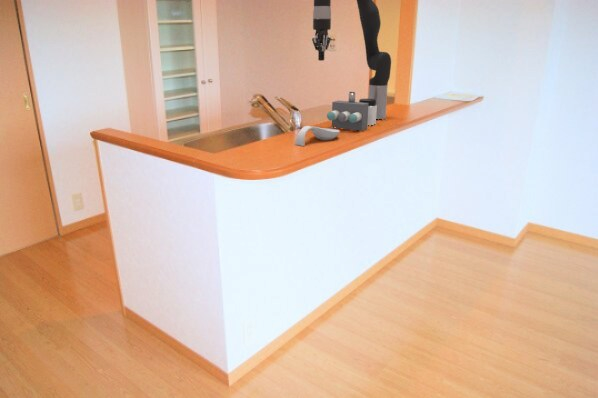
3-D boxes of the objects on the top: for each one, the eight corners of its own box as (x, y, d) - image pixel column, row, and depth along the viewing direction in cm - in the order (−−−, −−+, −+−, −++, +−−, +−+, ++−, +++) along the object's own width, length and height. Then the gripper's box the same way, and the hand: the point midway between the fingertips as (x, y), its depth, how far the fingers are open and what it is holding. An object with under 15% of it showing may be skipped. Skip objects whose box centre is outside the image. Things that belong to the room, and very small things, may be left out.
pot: (350, 101, 224) (350, 91, 223) (356, 101, 223) (356, 91, 221) (347, 102, 222) (347, 92, 220) (353, 102, 220) (353, 92, 219)
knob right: (358, 118, 224) (359, 110, 222) (366, 119, 222) (366, 110, 221) (348, 122, 215) (348, 113, 214) (356, 123, 213) (357, 114, 212)
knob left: (337, 116, 229) (337, 108, 228) (345, 117, 227) (345, 108, 226) (326, 120, 221) (326, 111, 219) (334, 120, 219) (334, 112, 217)
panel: (337, 125, 231) (338, 100, 227) (367, 128, 224) (368, 103, 220) (331, 127, 227) (332, 102, 223) (361, 131, 219) (363, 104, 215)
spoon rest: (322, 134, 213) (322, 118, 211) (344, 138, 206) (345, 121, 204) (288, 144, 196) (288, 126, 193) (311, 148, 189) (311, 130, 186)
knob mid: (347, 117, 226) (348, 109, 225) (355, 118, 225) (356, 109, 223) (337, 121, 218) (337, 112, 216) (345, 122, 216) (345, 113, 215)
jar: (357, 126, 231) (358, 100, 227) (357, 122, 238) (358, 98, 234) (376, 126, 230) (377, 101, 226) (375, 123, 238) (376, 98, 234)
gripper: (321, 18, 211) (321, 59, 217) (306, 17, 200) (306, 61, 206) (337, 18, 207) (335, 59, 213) (322, 17, 197) (321, 61, 202)
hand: (321, 60), depth 210 cm, fingers closed
